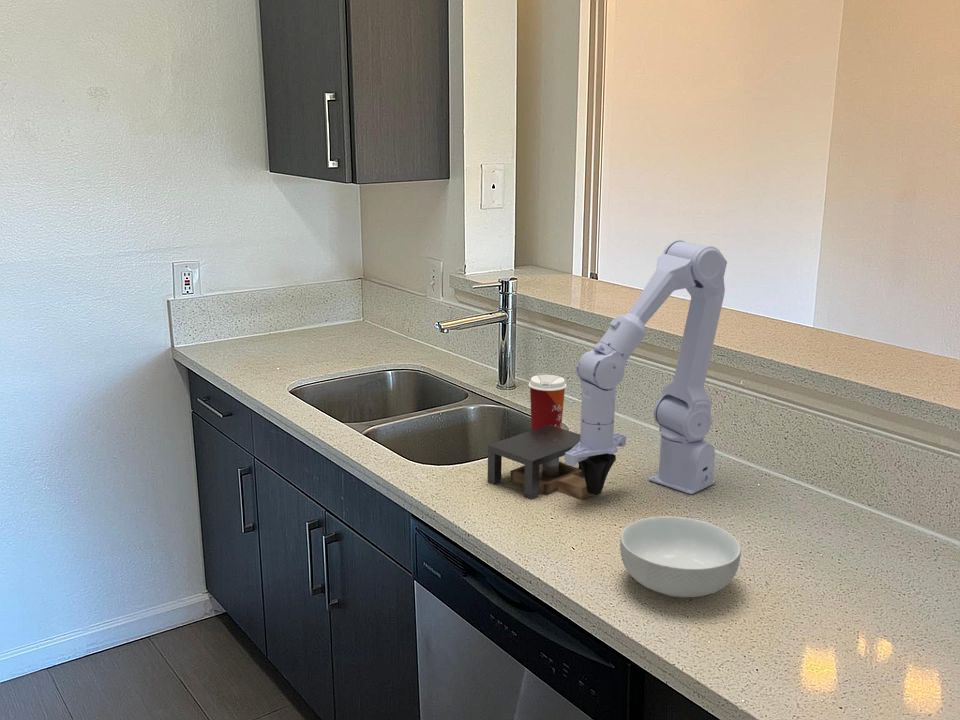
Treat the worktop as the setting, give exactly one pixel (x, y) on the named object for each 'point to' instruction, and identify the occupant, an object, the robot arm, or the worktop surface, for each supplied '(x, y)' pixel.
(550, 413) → the paper cup
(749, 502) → the worktop surface
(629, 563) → the cereal bowl
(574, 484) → the tray
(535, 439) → the riser
